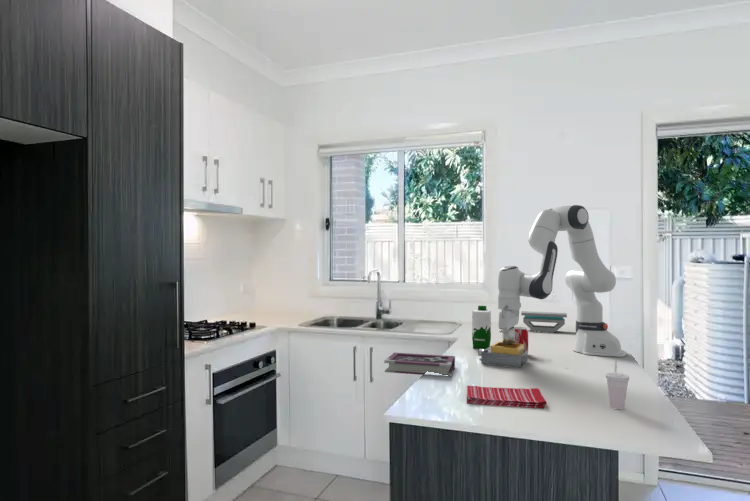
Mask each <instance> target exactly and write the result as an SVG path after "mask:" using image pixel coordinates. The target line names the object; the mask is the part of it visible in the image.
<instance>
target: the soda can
mask: <svg viewBox="0 0 750 501" xmlns="http://www.w3.org/2000/svg"><path fill="white" fill-rule="evenodd" d="M514 328H515V343H517V344H524V349H526V350H528V351H529V331H528V329H527V327H522V326H514Z"/></svg>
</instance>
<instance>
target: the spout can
mask: <svg viewBox="0 0 750 501" xmlns="http://www.w3.org/2000/svg"><path fill="white" fill-rule="evenodd" d="M514 327H515V326H514ZM514 327H512V328H510V329H509V339H504V332H503V330H500V329H499V333H502V336H501V338H502V341H501V342H502V344H503V345H515V328H514Z"/></svg>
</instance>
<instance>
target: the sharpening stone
mask: <svg viewBox="0 0 750 501" xmlns="http://www.w3.org/2000/svg"><path fill="white" fill-rule="evenodd" d="M520 314H521V316H523V319H522V322H523V323H524V324H525V326H526V327H528V328H529V329H530V331H532V332H533V331H540V332H539V333H545V332H555V333H556V332H557V331H559V329H561V328H562V327H563V326H565V323H566V320H565V318H567V317H568V315H567V314H568V313H567V312H549V311H548V312H547V311H523V310H522V311H521V313H520ZM533 322H535V323H551V324H555V325H539V324H538V325H534V324H533Z"/></svg>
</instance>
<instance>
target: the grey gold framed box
mask: <svg viewBox="0 0 750 501" xmlns="http://www.w3.org/2000/svg"><path fill="white" fill-rule="evenodd" d="M477 355H478V356H479V357H481V364H482V365H489V366H496V367H506V368H507V367H508V368H515V369H522V368H524V366H525V365H526V364H527V363H528V361H529V349H528V350H526V349H524V344H517V343H515V345H503V344H502V341H496V342H495V343H493V344H490V347H488V348H487V349H478V350H477Z"/></svg>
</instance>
